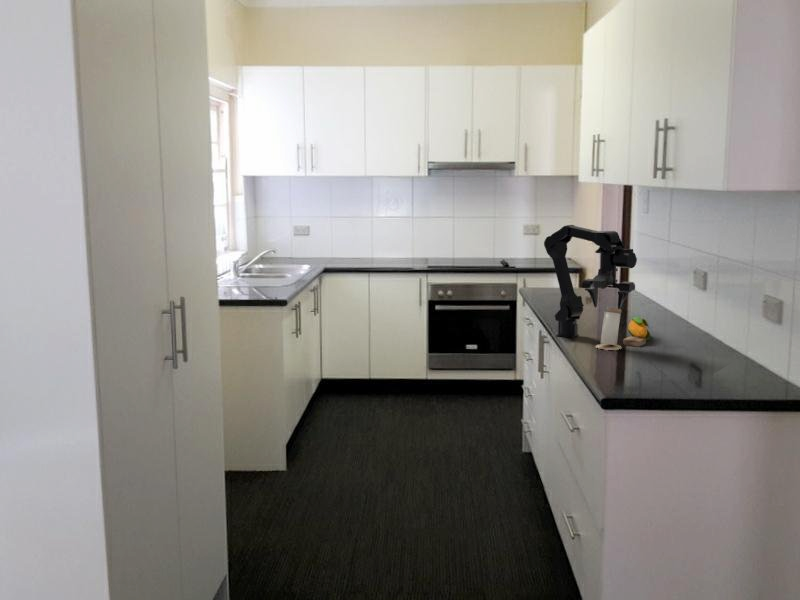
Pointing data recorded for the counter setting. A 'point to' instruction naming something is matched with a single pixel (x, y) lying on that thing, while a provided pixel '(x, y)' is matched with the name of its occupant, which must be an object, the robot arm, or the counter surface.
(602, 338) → the jar
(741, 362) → the counter surface
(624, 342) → the tile
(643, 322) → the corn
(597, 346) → the coaster
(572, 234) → the robot arm
